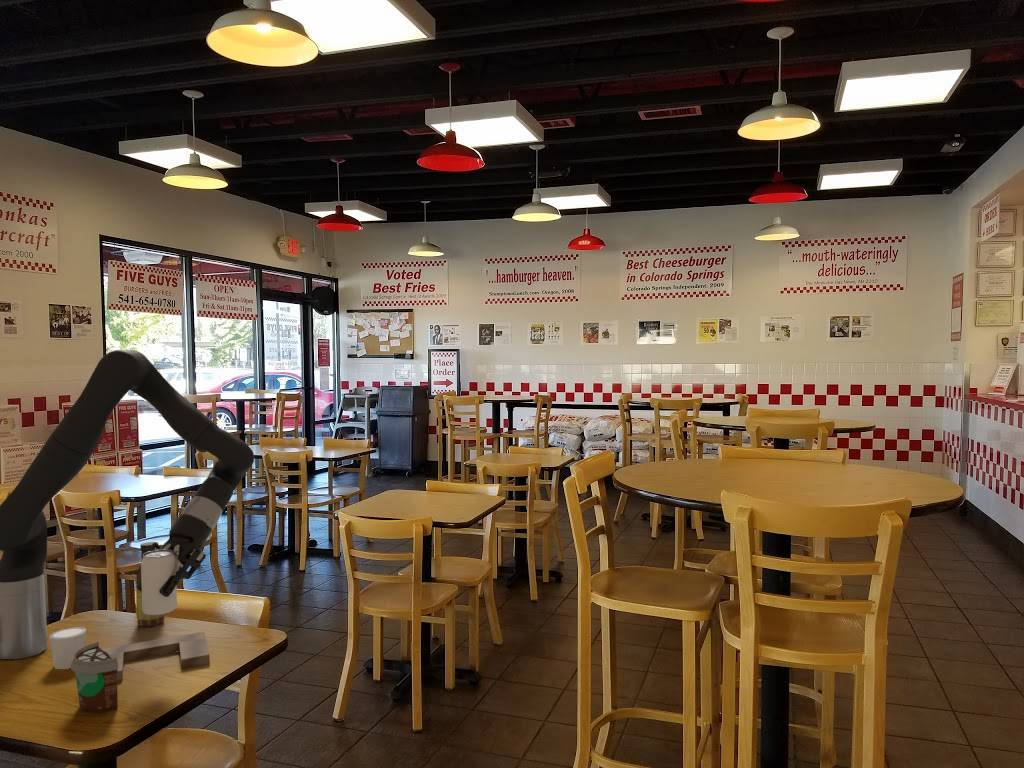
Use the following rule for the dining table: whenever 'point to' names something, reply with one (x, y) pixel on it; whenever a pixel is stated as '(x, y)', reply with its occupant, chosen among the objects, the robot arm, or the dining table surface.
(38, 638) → the robot arm
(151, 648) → the notched board
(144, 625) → the sauce bottle
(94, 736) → the dining table surface
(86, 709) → the food container
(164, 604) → the can
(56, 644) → the white short cylinder
